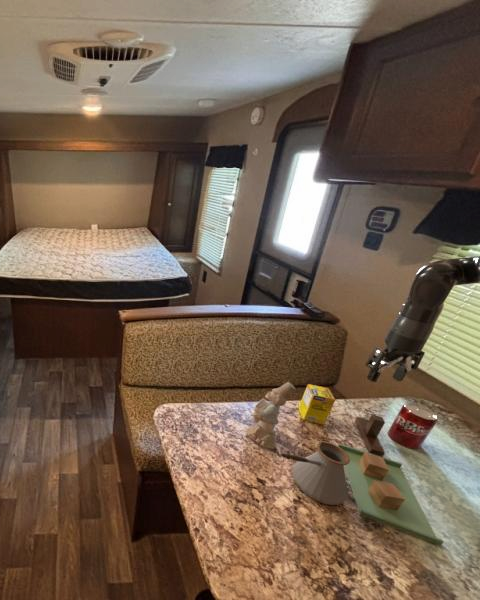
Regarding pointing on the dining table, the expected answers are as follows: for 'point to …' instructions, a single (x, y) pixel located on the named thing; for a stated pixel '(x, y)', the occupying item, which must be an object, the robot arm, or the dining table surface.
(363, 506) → the tray
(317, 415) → the supplement box
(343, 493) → the coffee pot
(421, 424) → the soda can
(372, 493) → the cork cube
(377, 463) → the cork cube
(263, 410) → the figurine
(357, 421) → the brown wooden t-shape
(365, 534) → the dining table surface
